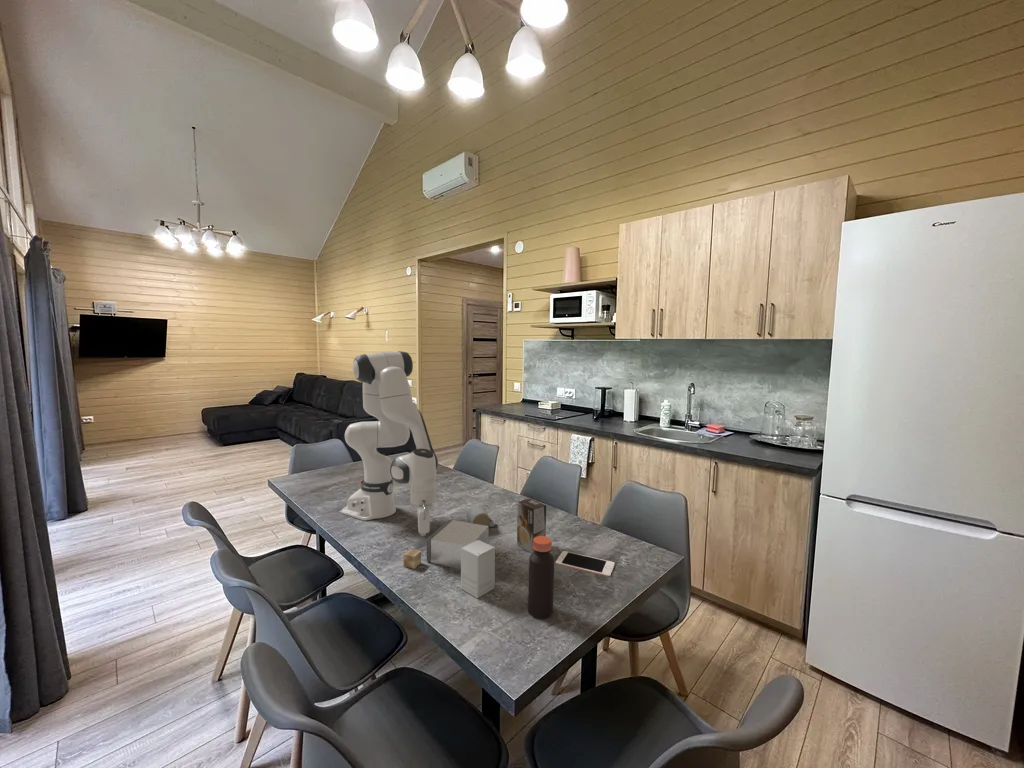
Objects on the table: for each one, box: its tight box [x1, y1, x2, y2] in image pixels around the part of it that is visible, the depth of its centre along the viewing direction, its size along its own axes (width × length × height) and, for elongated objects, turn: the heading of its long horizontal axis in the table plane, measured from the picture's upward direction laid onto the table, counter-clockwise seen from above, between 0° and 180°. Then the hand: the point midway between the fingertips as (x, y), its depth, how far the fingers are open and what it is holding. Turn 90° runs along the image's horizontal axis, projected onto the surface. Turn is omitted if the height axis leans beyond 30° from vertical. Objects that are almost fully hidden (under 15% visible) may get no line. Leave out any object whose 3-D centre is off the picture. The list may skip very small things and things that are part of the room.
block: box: [403, 548, 422, 569], centre depth 134 cm, size 4×4×4 cm
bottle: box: [527, 535, 556, 619], centre depth 111 cm, size 7×7×20 cm
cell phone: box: [555, 550, 616, 578], centre depth 137 cm, size 9×18×1 cm, turn 66°
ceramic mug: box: [466, 504, 496, 528], centre depth 163 cm, size 11×8×8 cm
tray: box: [426, 519, 453, 563], centre depth 141 cm, size 15×16×8 cm
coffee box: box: [516, 498, 547, 554], centre depth 147 cm, size 9×6×16 cm
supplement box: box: [460, 540, 496, 599], centre depth 121 cm, size 7×7×13 cm
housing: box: [430, 519, 490, 570], centre depth 140 cm, size 14×16×8 cm
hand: (423, 534), depth 145 cm, fingers closed
